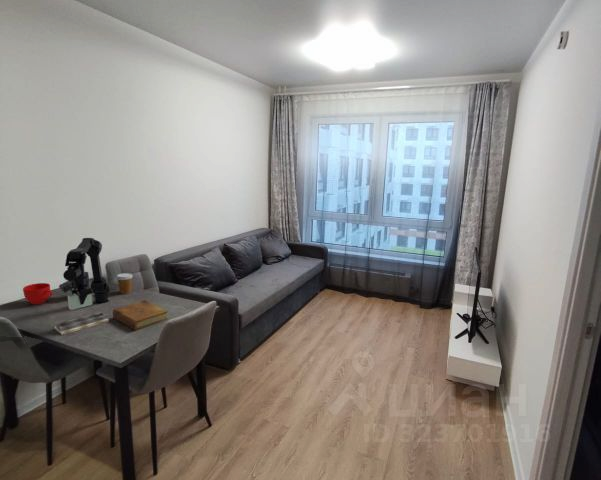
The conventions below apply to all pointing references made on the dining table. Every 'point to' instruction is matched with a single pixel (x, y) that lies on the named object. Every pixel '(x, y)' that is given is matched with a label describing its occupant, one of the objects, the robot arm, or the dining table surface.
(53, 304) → the dining table surface
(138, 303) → the diary
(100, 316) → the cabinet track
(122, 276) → the disposable coffee cup
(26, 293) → the ceramic cup
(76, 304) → the pale green rectangular box
